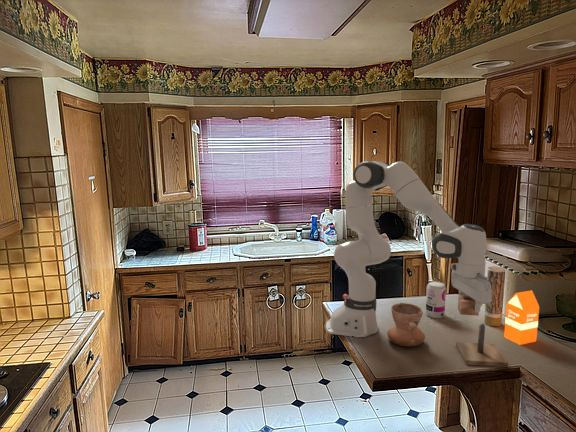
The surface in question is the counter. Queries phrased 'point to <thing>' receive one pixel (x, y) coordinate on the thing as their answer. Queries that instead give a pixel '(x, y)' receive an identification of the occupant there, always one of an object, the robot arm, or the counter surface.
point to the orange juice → (522, 318)
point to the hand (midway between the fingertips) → (469, 306)
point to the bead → (466, 305)
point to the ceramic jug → (406, 325)
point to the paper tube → (495, 296)
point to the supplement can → (435, 299)
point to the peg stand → (481, 352)
